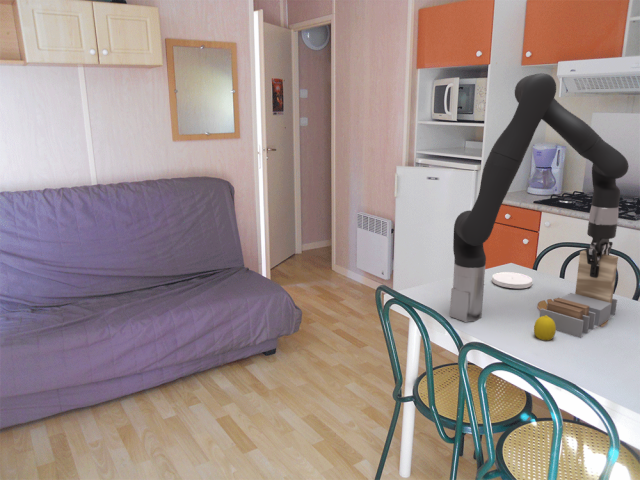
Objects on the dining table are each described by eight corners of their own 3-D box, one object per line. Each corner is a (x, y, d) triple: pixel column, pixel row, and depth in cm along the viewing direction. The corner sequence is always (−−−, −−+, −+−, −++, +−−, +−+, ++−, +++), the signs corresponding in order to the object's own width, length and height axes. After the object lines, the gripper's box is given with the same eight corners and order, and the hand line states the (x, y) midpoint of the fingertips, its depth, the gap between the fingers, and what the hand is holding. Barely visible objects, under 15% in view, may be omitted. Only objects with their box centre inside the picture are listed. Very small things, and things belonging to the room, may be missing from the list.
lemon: (536, 336, 148) (538, 310, 146) (556, 341, 144) (559, 314, 142) (529, 342, 143) (532, 316, 141) (550, 348, 140) (553, 321, 138)
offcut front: (576, 335, 144) (579, 311, 143) (545, 325, 151) (547, 303, 149) (580, 332, 146) (583, 309, 144) (549, 322, 153) (551, 300, 151)
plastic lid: (484, 279, 196) (485, 273, 195) (518, 277, 198) (519, 271, 198) (504, 292, 183) (504, 285, 182) (539, 289, 185) (540, 282, 184)
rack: (580, 342, 143) (582, 321, 141) (538, 329, 152) (540, 308, 150) (614, 319, 158) (617, 299, 156) (574, 308, 167) (577, 289, 165)
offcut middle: (582, 331, 147) (585, 308, 145) (551, 321, 153) (554, 299, 152) (586, 328, 148) (589, 306, 147) (555, 319, 155) (558, 297, 153)
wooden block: (608, 309, 155) (614, 258, 151) (574, 300, 163) (580, 251, 159) (611, 306, 157) (618, 256, 153) (577, 298, 164) (583, 250, 160)
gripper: (599, 215, 160) (592, 268, 165) (579, 222, 152) (573, 278, 156) (625, 219, 155) (618, 273, 159) (606, 226, 146) (599, 284, 150)
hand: (595, 275), depth 158 cm, fingers closed on wooden block, 2 cm apart
